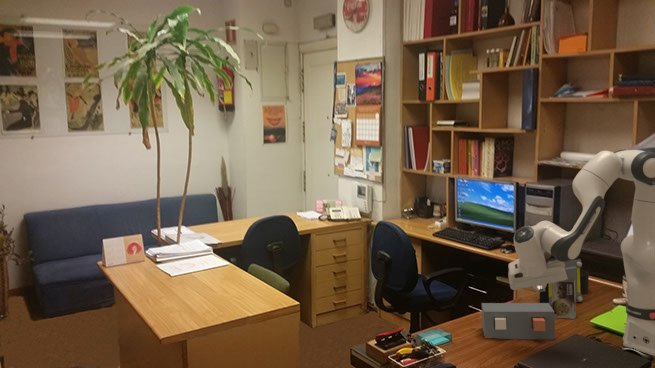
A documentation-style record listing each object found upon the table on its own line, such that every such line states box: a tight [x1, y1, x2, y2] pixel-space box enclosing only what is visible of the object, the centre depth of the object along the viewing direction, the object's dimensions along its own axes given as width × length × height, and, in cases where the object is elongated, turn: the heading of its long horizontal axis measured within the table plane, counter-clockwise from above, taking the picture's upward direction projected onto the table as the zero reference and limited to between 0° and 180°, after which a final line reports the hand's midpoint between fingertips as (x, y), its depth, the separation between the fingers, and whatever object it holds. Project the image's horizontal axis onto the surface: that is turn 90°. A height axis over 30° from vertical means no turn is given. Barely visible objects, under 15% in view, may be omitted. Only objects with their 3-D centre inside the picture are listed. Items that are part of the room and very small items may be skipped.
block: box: [481, 302, 556, 340], centre depth 217 cm, size 10×26×11 cm, turn 79°
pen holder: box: [581, 269, 590, 296], centre depth 263 cm, size 9×9×10 cm
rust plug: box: [531, 317, 545, 331], centre depth 212 cm, size 11×4×4 cm, turn 169°
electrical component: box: [538, 257, 584, 307], centre depth 250 cm, size 18×10×20 cm, turn 105°
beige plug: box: [494, 317, 506, 330], centre depth 216 cm, size 11×4×4 cm, turn 169°
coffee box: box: [551, 278, 577, 320], centre depth 233 cm, size 9×6×16 cm
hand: (541, 290), depth 205 cm, fingers closed
